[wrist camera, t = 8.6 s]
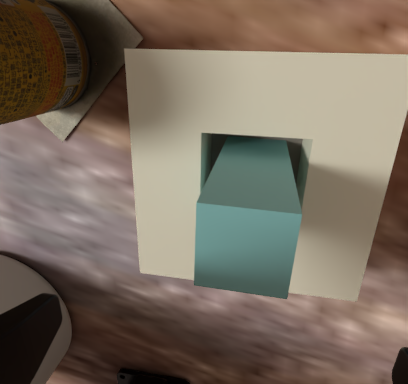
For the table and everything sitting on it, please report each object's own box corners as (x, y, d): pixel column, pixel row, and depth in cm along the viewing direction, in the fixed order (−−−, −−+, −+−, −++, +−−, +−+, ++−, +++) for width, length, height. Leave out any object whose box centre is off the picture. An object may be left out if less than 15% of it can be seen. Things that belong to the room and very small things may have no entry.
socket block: (340, 258, 21) (356, 301, 17) (160, 237, 23) (139, 272, 19) (387, 54, 16) (422, 54, 12) (153, 49, 18) (124, 48, 14)
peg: (278, 193, 19) (287, 299, 11) (224, 188, 19) (193, 285, 11) (286, 140, 18) (302, 214, 10) (227, 135, 18) (196, 202, 10)
